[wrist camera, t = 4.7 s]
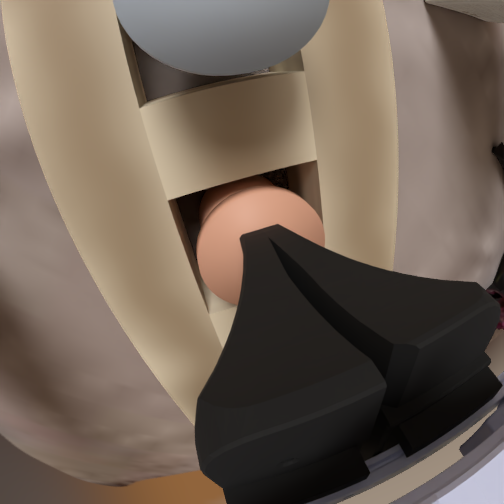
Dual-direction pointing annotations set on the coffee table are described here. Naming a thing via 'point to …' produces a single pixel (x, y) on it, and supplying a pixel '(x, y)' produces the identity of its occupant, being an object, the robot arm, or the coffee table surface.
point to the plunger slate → (221, 32)
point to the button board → (200, 160)
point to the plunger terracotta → (245, 227)
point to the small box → (475, 8)
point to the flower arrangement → (500, 288)
